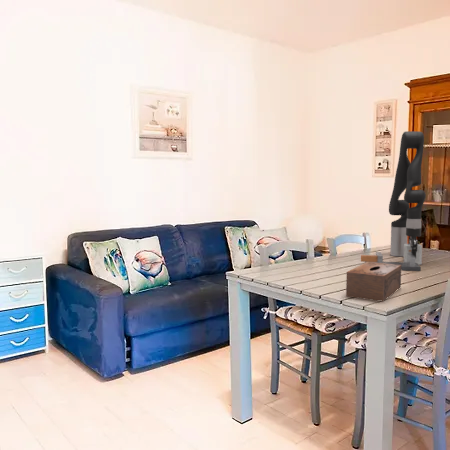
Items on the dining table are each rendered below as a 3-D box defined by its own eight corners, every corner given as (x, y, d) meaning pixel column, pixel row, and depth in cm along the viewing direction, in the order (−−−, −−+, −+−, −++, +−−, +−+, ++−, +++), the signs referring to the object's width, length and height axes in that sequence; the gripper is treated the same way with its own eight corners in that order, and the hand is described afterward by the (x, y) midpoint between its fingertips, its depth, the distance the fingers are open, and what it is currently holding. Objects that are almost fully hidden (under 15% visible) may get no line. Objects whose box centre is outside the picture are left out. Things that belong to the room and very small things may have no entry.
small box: (418, 262, 249) (419, 243, 248) (421, 264, 243) (422, 245, 242) (403, 262, 250) (403, 243, 249) (406, 264, 244) (406, 245, 243)
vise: (364, 264, 245) (365, 251, 244) (416, 266, 238) (417, 253, 238) (366, 269, 233) (366, 255, 233) (420, 271, 227) (421, 257, 226)
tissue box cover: (383, 302, 173) (383, 276, 172) (346, 296, 181) (346, 271, 180) (400, 288, 194) (401, 265, 193) (366, 284, 202) (367, 261, 201)
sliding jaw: (360, 260, 245) (360, 251, 245) (380, 261, 243) (380, 252, 242) (361, 264, 234) (361, 255, 233) (382, 265, 231) (382, 256, 231)
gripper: (404, 225, 252) (403, 255, 254) (408, 228, 238) (407, 260, 240) (418, 225, 250) (417, 256, 252) (423, 228, 237) (422, 260, 238)
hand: (412, 257), depth 246 cm, fingers closed on small box, 6 cm apart
